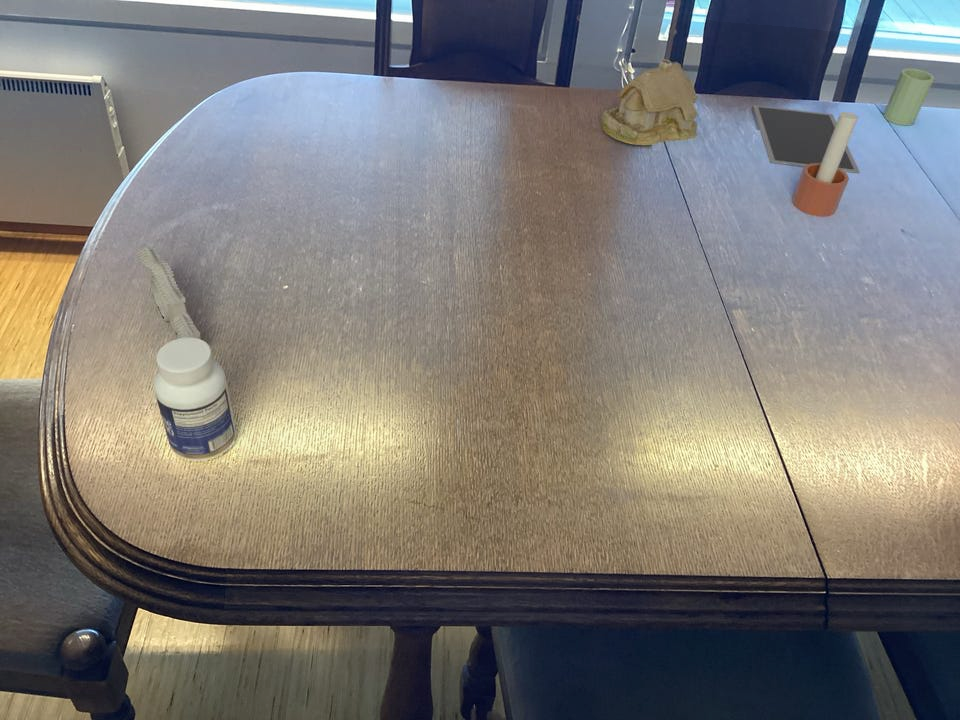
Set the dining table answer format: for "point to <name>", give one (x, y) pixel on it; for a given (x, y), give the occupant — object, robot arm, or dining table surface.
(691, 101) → the ceramic model
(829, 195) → the cup
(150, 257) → the beige ridged long part
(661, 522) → the dining table surface
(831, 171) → the stylus
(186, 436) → the pill bottle
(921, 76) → the pen cup
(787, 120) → the tablet
